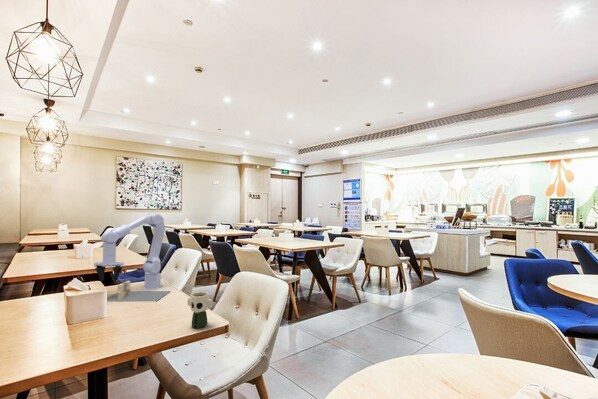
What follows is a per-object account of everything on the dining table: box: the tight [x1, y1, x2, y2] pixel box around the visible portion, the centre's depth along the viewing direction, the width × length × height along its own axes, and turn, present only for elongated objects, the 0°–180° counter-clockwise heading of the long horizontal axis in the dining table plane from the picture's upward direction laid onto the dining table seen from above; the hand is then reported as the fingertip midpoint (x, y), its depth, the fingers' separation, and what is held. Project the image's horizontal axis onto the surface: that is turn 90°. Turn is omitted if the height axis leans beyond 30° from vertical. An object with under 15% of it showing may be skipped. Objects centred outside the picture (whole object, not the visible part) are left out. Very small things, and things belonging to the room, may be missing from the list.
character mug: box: [187, 291, 213, 329], centre depth 121 cm, size 11×7×13 cm, turn 78°
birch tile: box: [117, 280, 131, 300], centre depth 157 cm, size 9×2×8 cm, turn 2°
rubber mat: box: [106, 290, 171, 303], centre depth 159 cm, size 18×28×1 cm, turn 92°
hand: (108, 280), depth 157 cm, fingers open, 7 cm apart
